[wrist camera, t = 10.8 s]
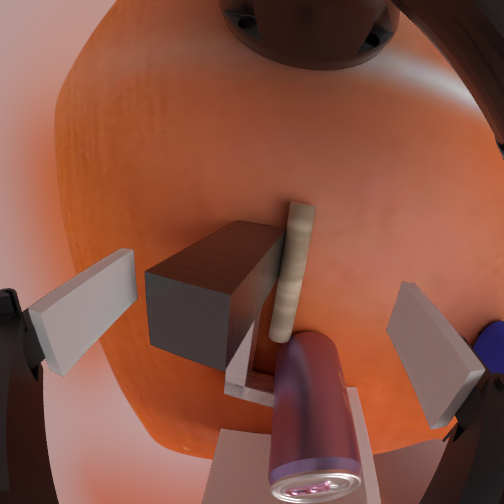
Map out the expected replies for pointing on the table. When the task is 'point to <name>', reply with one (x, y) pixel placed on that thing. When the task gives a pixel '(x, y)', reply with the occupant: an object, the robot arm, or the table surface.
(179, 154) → the table surface
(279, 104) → the table surface
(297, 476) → the beverage can
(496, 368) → the mug
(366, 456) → the corner shelf
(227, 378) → the grey angled piece
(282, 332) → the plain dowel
